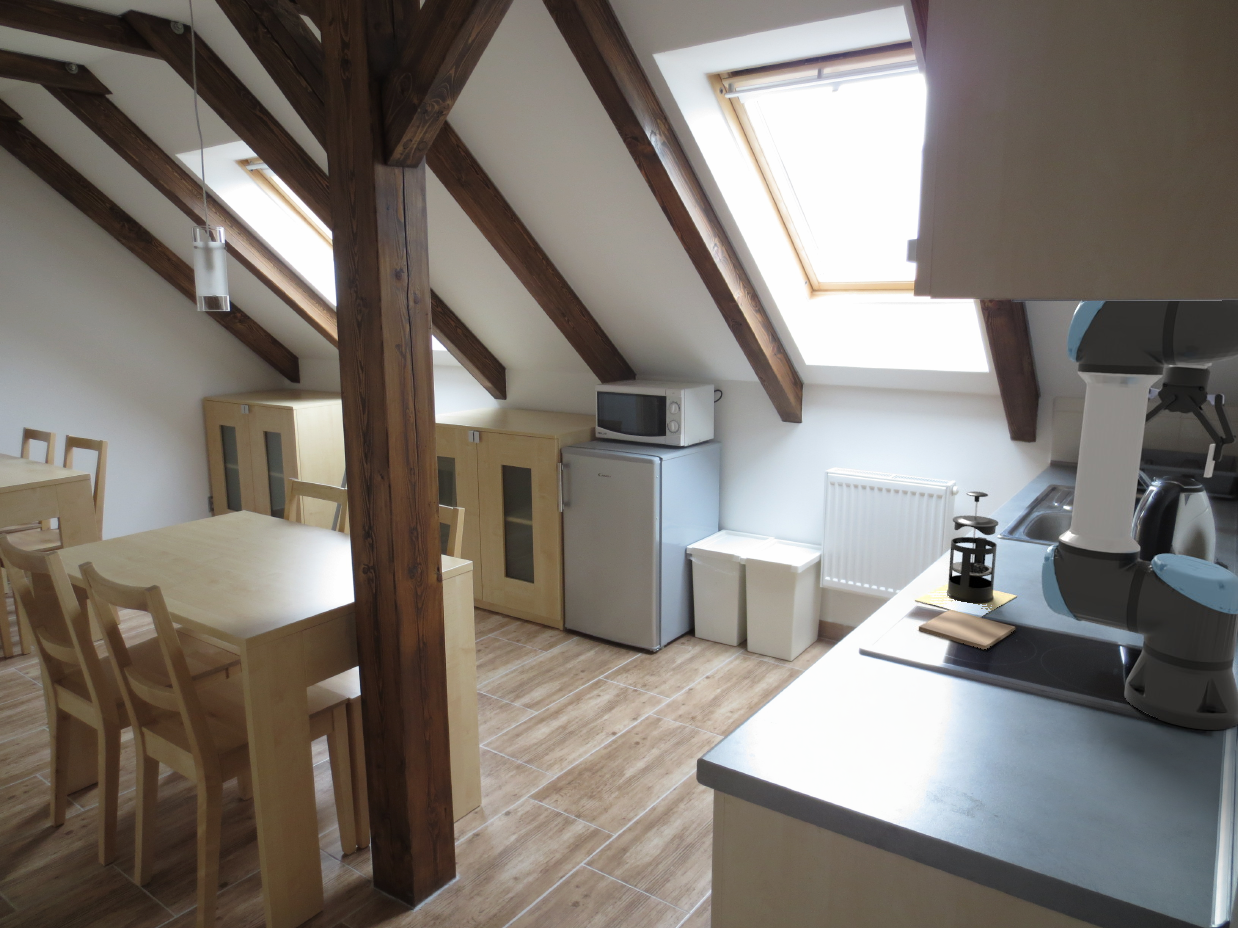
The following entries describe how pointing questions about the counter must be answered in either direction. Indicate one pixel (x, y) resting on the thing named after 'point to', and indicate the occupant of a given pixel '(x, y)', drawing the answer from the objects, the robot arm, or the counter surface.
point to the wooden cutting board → (967, 629)
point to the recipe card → (998, 600)
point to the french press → (971, 579)
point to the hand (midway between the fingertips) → (1168, 470)
